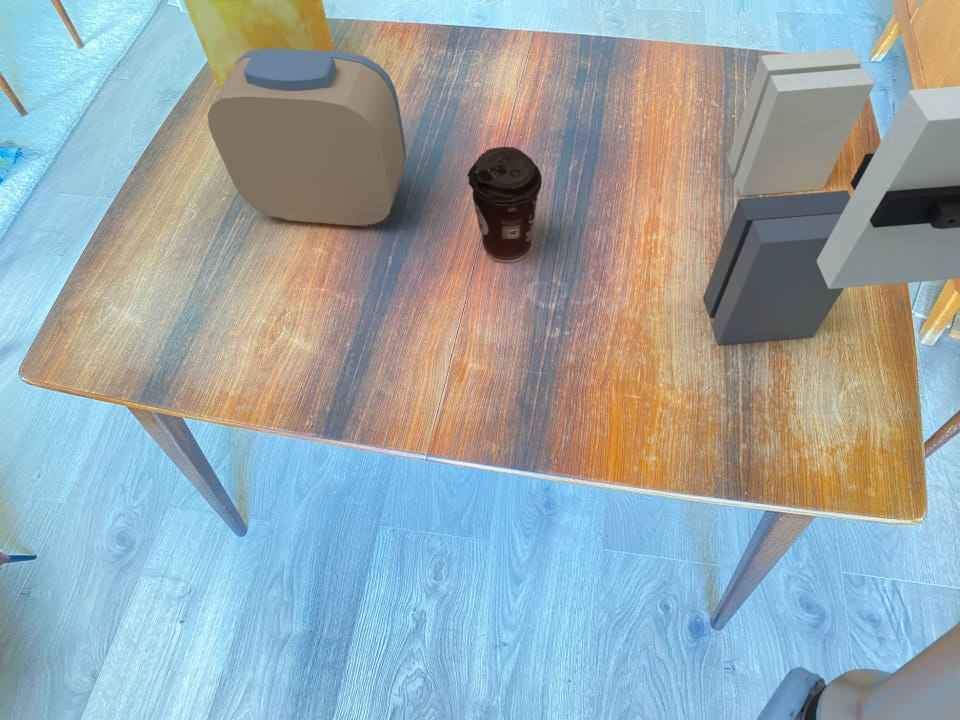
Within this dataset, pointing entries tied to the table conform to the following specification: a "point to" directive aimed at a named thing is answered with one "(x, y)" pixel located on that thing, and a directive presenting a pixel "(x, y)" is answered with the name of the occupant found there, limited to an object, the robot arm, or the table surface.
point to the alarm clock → (311, 135)
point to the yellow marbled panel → (256, 28)
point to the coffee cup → (505, 201)
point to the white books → (797, 120)
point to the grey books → (774, 269)
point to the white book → (901, 166)
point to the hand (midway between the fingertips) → (870, 190)
